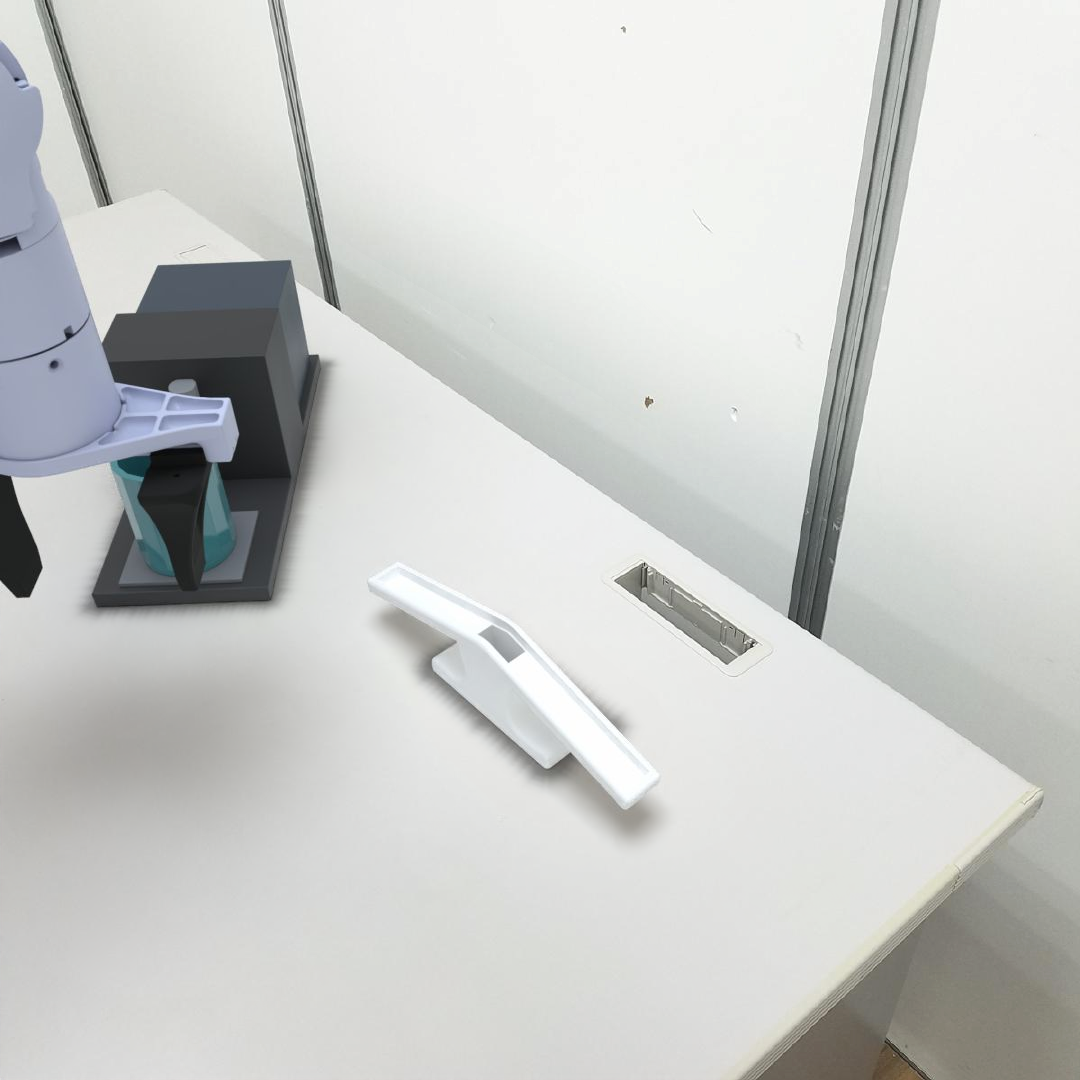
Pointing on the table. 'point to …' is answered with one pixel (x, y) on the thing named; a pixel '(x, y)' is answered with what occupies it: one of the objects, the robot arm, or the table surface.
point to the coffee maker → (257, 400)
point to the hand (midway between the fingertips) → (111, 579)
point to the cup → (147, 535)
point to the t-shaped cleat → (518, 684)
